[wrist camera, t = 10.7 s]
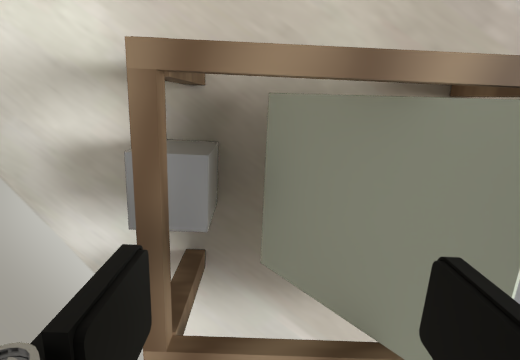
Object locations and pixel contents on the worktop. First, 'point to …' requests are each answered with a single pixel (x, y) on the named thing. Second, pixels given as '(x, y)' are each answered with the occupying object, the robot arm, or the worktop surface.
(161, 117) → the frame
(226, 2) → the worktop surface
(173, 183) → the grey near-cubic block
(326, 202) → the trapdoor
